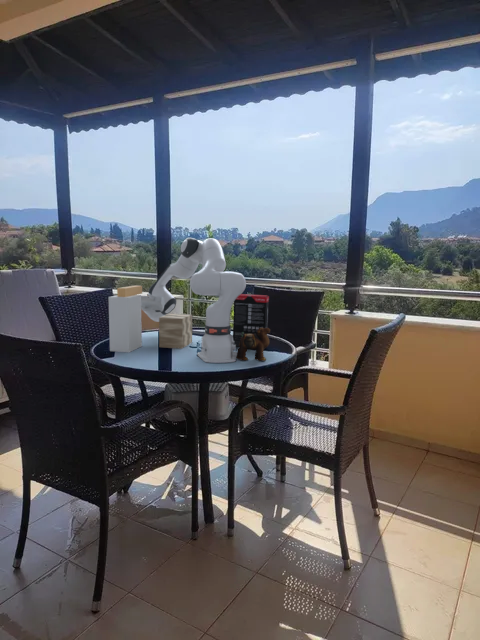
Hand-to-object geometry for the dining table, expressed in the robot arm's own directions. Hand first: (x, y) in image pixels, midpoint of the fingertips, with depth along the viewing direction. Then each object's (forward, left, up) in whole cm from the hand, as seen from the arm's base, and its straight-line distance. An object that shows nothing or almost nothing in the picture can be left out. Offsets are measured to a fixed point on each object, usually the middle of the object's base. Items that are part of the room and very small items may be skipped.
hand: (139, 294), depth 227 cm
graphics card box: (-16, -56, -26) cm, 64 cm away
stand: (-15, +6, -25) cm, 30 cm away
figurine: (-41, -53, -25) cm, 72 cm away
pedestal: (-7, -19, -25) cm, 32 cm away
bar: (-10, +4, +1) cm, 11 cm away
